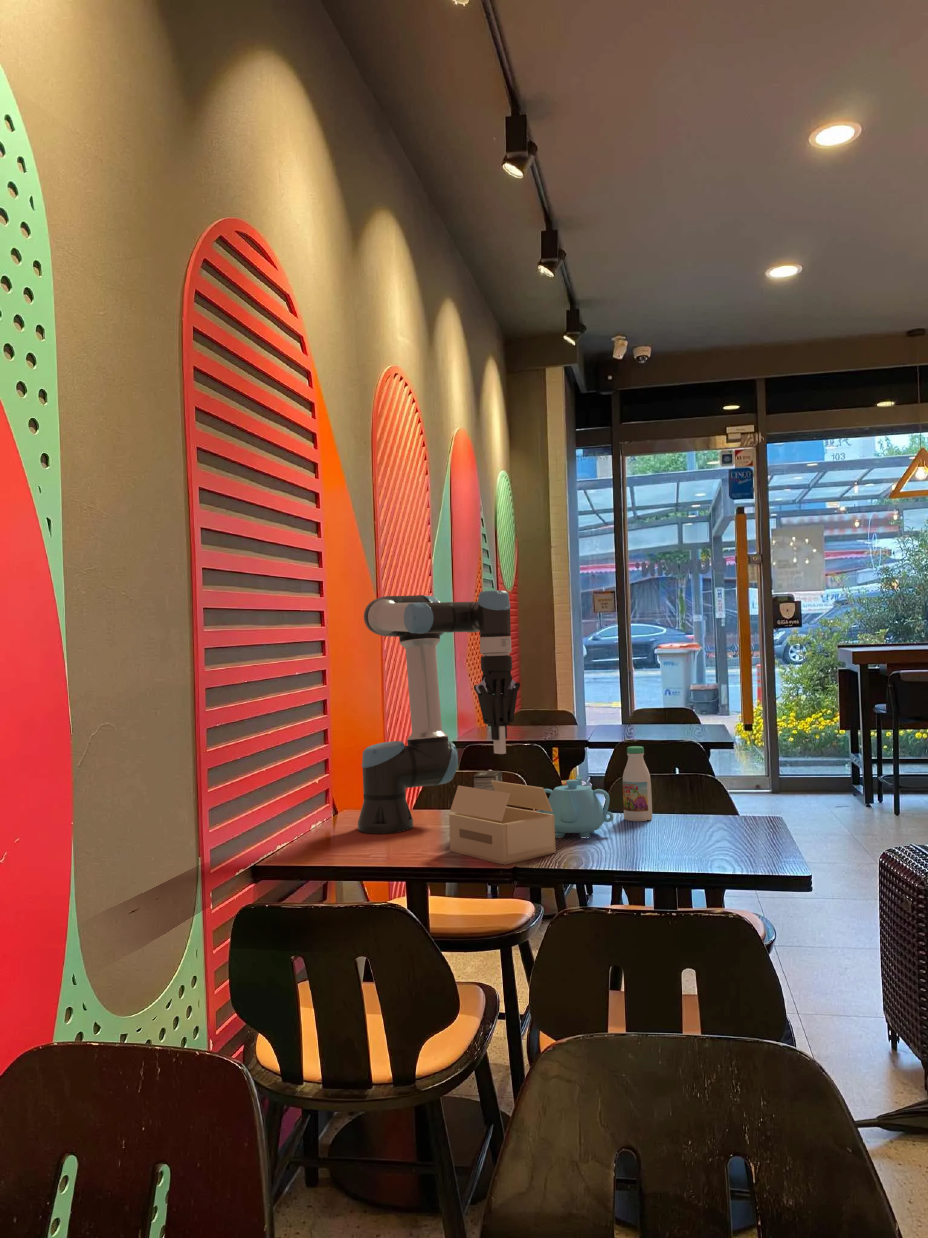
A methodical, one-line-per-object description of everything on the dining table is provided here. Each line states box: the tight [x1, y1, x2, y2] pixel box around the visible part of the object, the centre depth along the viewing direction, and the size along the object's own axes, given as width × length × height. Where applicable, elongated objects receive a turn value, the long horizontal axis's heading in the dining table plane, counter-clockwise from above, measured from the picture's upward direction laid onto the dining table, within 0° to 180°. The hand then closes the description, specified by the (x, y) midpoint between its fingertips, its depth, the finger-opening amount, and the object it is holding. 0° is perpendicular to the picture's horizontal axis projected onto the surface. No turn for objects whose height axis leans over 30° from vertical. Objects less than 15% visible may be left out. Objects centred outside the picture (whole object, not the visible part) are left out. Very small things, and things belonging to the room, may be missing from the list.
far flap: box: [491, 780, 553, 812], centre depth 230 cm, size 19×1×6 cm, turn 38°
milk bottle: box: [622, 745, 653, 822], centre depth 261 cm, size 8×8×20 cm
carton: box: [448, 805, 557, 866], centre depth 226 cm, size 21×16×9 cm
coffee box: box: [472, 770, 503, 791], centre depth 247 cm, size 9×6×16 cm
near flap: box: [450, 785, 510, 821], centre depth 222 cm, size 19×1×6 cm, turn 38°
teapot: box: [536, 774, 614, 838], centre depth 243 cm, size 16×20×14 cm
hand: (499, 753), depth 226 cm, fingers closed
